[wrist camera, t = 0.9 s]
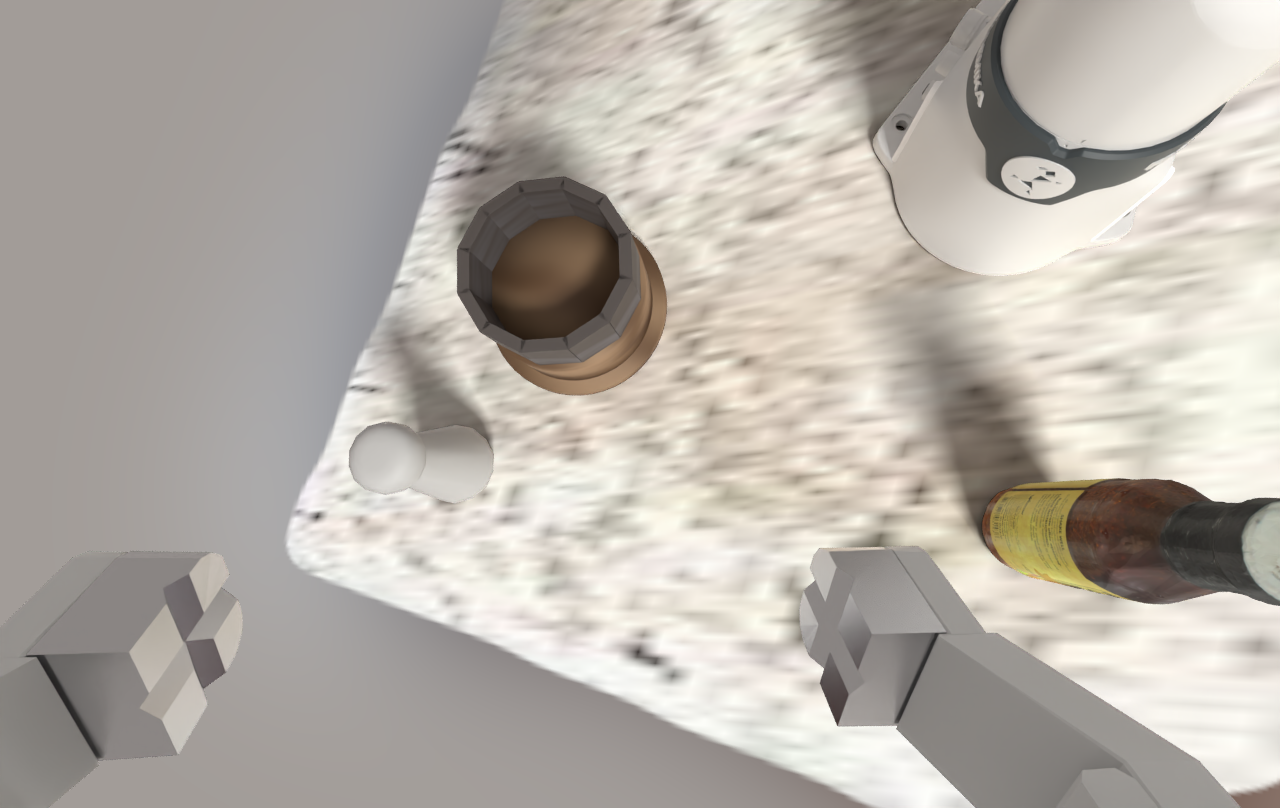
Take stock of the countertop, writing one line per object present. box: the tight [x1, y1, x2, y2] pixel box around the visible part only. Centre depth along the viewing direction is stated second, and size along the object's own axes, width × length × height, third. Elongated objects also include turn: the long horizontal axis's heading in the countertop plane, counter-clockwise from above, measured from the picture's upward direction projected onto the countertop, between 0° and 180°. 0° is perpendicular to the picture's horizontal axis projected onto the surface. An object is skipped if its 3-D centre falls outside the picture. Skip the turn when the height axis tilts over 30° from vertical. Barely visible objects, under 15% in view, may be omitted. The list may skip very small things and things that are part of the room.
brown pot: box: [457, 177, 667, 395], centre depth 43 cm, size 14×14×10 cm
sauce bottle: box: [982, 478, 1280, 606], centre depth 32 cm, size 7×6×20 cm
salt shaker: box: [349, 422, 494, 503], centre depth 42 cm, size 6×6×13 cm
